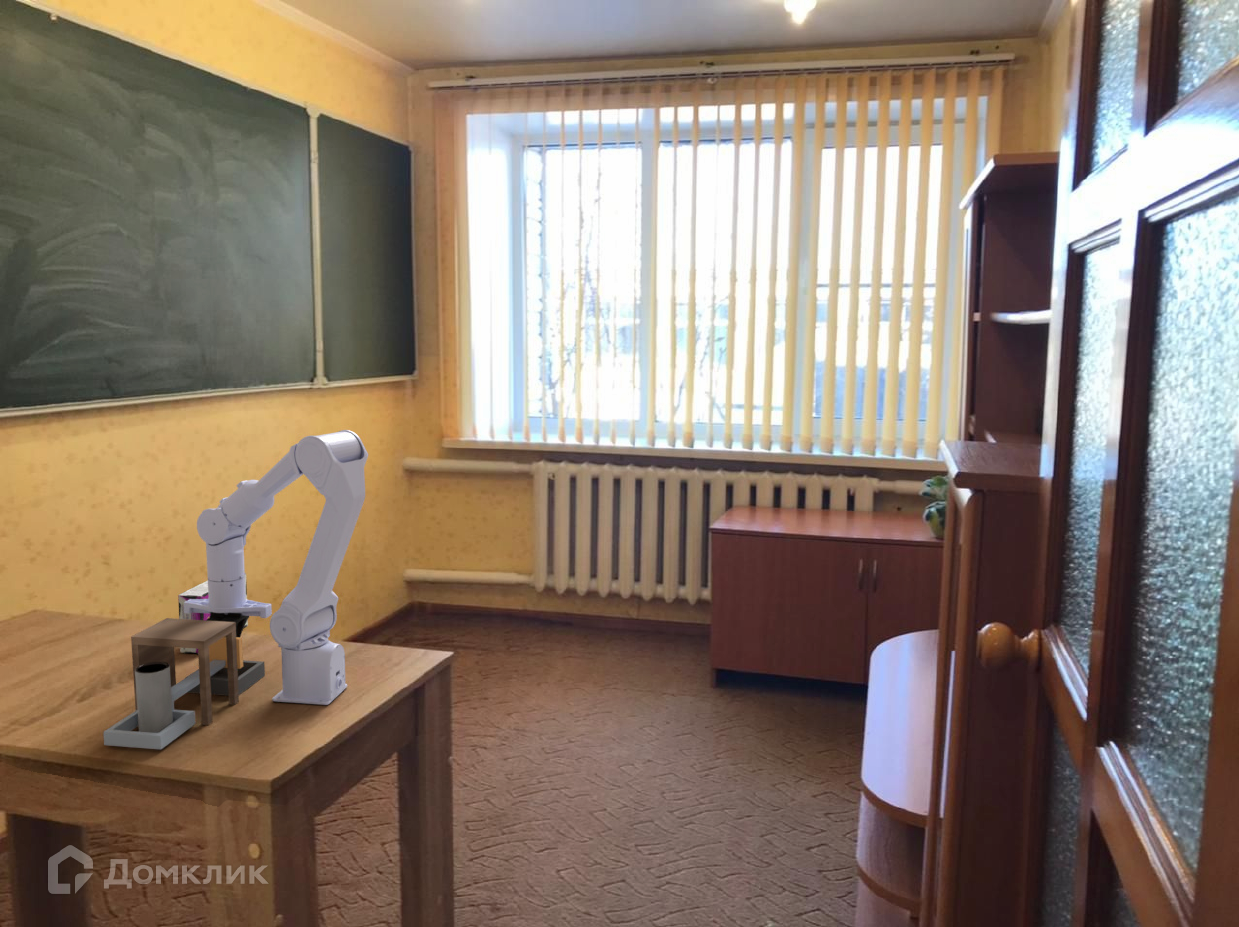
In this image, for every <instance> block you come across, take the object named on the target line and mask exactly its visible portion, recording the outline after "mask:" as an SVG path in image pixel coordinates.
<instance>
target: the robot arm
mask: <svg viewBox="0 0 1239 927" xmlns="http://www.w3.org/2000/svg"><path fill="white" fill-rule="evenodd" d="M368 458H369V453H368V451H367V449H366V446H365V445H364V443H363V441H362V439H361V438H360V436H359V435H358V434H357V433H356V432H354V431H352V430H349V429H343V430H339V431H337V432H331V433H325V434H320V435H319V434H318V435H307V436H304V437H302V438H301V439H299V442H298V443H295V444H294V445H292V446H290V448H289V451H288V452H287V453H286V454H284V455H283V457H282V458H281V459H280V460H278V462H277V463H276V464H274V465H273V466H272V467H271V469H269V470H268V471H267V472H266V473H265V474H264V475H263V476H262V477H260V479H258V480H257V479H249V480H242V481H240V482H238V483H237V484H236V488H237V489H236V490H235V491H234V492H232V493H231V494H230V495H229V496H227V497H224V498H221V499H220V500H219V504H218V506H217V507H214V508H205V509H204V510H202V511H201V513H200V514H199V516H198V518H197V520H196V530H197V533H198V536H199V537H200V538H201V540H202V541H203V542H204V543H205V549H206V550H205V552H206V554H205V555H206V569H207V571H206V572H207V581H208V595H209V599H190V600H188V601H186V602H184V613H187V614H190V613H192V612H194V613H210V618H208V619H207V620H206V621H223V622H236V637H240V638H241V636H242V633H243V631H244V629H245V628H244V626H245V624H246V622H247V620H248V621H249V618H250V617H259V618H260V619H267V618H269V617H270V616H271V617H270V620H269V630H270V634H271V637H272V638H273V640H274V641H275V642H276V644H277V646H278V648H281V649H280V650H281V651H280V652H281V674H282V675H281V676H282V677H281V678H282V690H280V691H279V692H278V693H277V694H276V695H274V696H273V697H272V699H271V700H272V702H276V703H280V702H281V703H295V704H307V705H319V706H320V705H323V706H327V705H329V704H331V703H332V702H333V701H334V700H335V699H336V698H337V697H339V696H340V694H341V693H342V692H343V691H345V690H346V689H347V687H348V684H347V683H346V654H345V649H344V645H342V644H340V643H335V642H333V641H331V640H330V639H329V638H330V637H331V633H330V632H331V630H332V629H333V628H334V626H335V624H336V623H337V618H338V616H337V615H338V613H337V604H338V601H339V597H338V595H337V594H336V593H335V592H334V591H333V589H334V587H335V583H336V581H337V578H338V575H339V572H340V570H341V567H342V564H343V561H344V558H345V556H346V553H347V550H348V547H349V544H350V541H351V539H352V536H353V533H354V531H355V527H356V525H357V522H358V520H359V516H360V514H361V511H362V508H363V505H364V502H365V501H366V500H365V499H366V478H365V466H366V463H367V461H368ZM303 475H304V476H305V478H307V480H308V481H309V482H310V483H311V484H312V485H313V487H315V489H316V490H317V491H318V493H319V494H320V495H322V496H324V499H325V502H324V505H323V509H322V511H321V514H320V517H319V519H318V523H317V526H316V528H315V532H314V535H313V536H312V540H311V543H310V546H309V549H308V552H307V555H306V558H305V560H304V563H303V567H302V569H301V572H300V574H299V577H298V581H297V584H296V586H295V587H294V588H293V589H292V590H291V591H290V592H289V593H288V594H287V595H286V596H285V598H284V599H282V602H281V604H280V607H279V609H277V610H276V611H275V612H274V613H273V612H272V611H273V609H272V607H273V606H272V603H267V602H266V603H265V602H260V601H255V600H251V599H248V598H247V599H246V592H245V573H246V572H245V569H246V568H245V552H244V550H245V549H244V547H245V545H247V536H248V534H249V533H250V530H251V528H252V524H254V523H255V522H256V521H257V520H259V519H260V518H261V517H262V516H263V515H265V514H266V513H267V512H268V511H269V510H271V509H272V508H273V506H274V504H275V496H276V495H277V494H279V493H280V492H282V491H283V490H284V489H285V488H287V487H288V486H289V485H291V484H293V482H295V481H296V480H298V479H299V478H300V477H302V476H303ZM243 628H244V629H243ZM225 637H226V636H225Z"/></svg>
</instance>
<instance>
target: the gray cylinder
mask: <svg viewBox="0 0 1239 927" xmlns="http://www.w3.org/2000/svg"><path fill="white" fill-rule="evenodd" d="M135 679H136V694H137V709H138V725H139V726H138V732H149V733H159V732H161V731H162V730H164V729H165V728H166V727H168V726H169V725H171V724H172V723H173V713H172V696H171V679H170V665H169V664H168V663H166V662H150V663H145V664H142V665H140V666H138V667H137V668H136V669H135Z"/></svg>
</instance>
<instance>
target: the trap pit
mask: <svg viewBox="0 0 1239 927" xmlns="http://www.w3.org/2000/svg"><path fill="white" fill-rule="evenodd" d="M265 669H266V668H265V661H262V660H261V661H259V660H258V661H257V660H246V659H245V660H244V659H243V667H242V668H240V669H238V691H239V696H240V695H242V694H243V693H244V692H245V691H246V690H248V689H249V688H250V687H252V686H254V684H256V683H257V682H259V681H260V680H261V679H263V678H264V677H265V676H266V670H265ZM197 670H199V668H198V669H196V670H195V671H193V672H192V673H190V674H189V675H187V676H186V677H188V676H190V675H191V674H193V673H194V672H196V671H197ZM210 682H211V695H219V696H229V691H228V668H222V669H221V670H219V671H218V672H216V673H215V674H213V675H212V676H210ZM188 693H190V694H200V684H199V685H197V686H196V687H194V688H193V689H191V690H190V691H188V692H187V693H186V694H188Z"/></svg>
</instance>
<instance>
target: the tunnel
mask: <svg viewBox="0 0 1239 927" xmlns="http://www.w3.org/2000/svg"><path fill="white" fill-rule="evenodd" d="M225 636H226V646H227V668H228V691H229V695H228V705H236V704H237V703H239V701H240V695H239V691H238V668H237V645H236V622H223V621H206V620H190V619H179V618H170V617H167V618H164V619H162V620H161V621H158V622H156V623H154V624H153V625H151V626H149V627H146V629H143V630H141V631H140V632H137V633H136V634H134V635H132V636H130V638H131V639H130V641H131V657H132V659H131V661H132V671H133V673H132V674H133V676H132V677H133V688H134V689H133V691H134V707H135V708H134V709H135V711H136V710H138V709H137V694H136V679H135V669H136V668H137V667H138V666H140V665H142V664H145V663H150V662H166V663H168V664H169V665H170V679H171V687H173V686H174V685H176V684H177V677H176V676H177V675H176V657H175V656H176V654H175V648H179V649H180V648H196V649H198V654H197V655H198V659H197V660H198V669H199V679H200V693H199V696H200V699H199V700H200V714H201V715H200V716H201V719H200V720H201V725H202V726H209V725H210V724H212V723H213V709H212V708H213V707H212V703H213V702H212V694H211V682H210V662H209V646H210V645H212V644H213V643H215V642H217V641H218V640H220V639H221V638H223V637H225Z"/></svg>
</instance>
